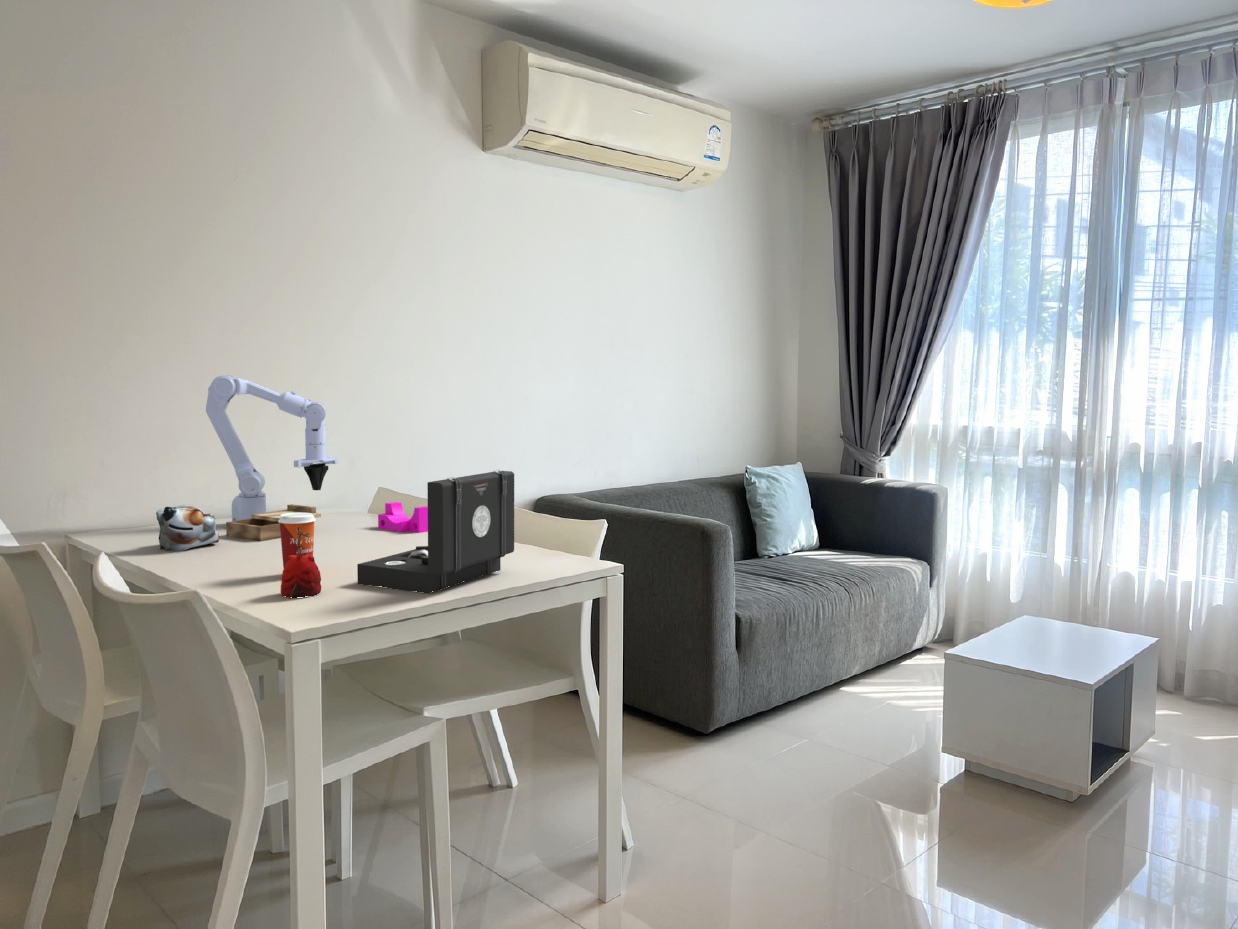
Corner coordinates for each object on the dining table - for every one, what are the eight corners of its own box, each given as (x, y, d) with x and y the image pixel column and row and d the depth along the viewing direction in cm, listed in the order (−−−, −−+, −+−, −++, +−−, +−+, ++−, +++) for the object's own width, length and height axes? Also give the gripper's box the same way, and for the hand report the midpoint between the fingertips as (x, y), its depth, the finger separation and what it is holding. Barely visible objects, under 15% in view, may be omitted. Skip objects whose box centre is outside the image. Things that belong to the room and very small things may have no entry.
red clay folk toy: (323, 594, 184) (322, 521, 182) (318, 603, 177) (316, 526, 175) (284, 595, 182) (282, 521, 181) (276, 604, 176) (275, 527, 174)
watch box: (414, 565, 215) (413, 461, 212) (516, 578, 202) (516, 468, 200) (336, 587, 191) (334, 471, 189) (445, 603, 179) (444, 479, 177)
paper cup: (295, 584, 192) (293, 518, 191) (271, 579, 196) (270, 515, 195) (325, 577, 199) (323, 513, 197) (301, 573, 203) (300, 510, 201)
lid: (251, 518, 252) (251, 508, 252) (287, 512, 262) (287, 503, 262) (285, 522, 245) (285, 513, 245) (321, 517, 255) (320, 507, 255)
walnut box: (226, 536, 246) (226, 522, 245) (264, 530, 256) (263, 516, 256) (260, 542, 239) (260, 527, 238) (298, 535, 249) (297, 521, 248)
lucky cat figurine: (229, 538, 237) (224, 491, 231) (211, 564, 226) (205, 516, 220) (170, 533, 236) (163, 486, 230) (149, 559, 226) (141, 510, 219)
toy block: (378, 530, 261) (377, 504, 260) (396, 527, 266) (395, 501, 265) (412, 536, 252) (411, 509, 251) (429, 533, 256) (429, 506, 256)
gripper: (305, 446, 259) (306, 493, 260) (344, 443, 271) (345, 488, 273) (288, 444, 263) (289, 491, 264) (327, 442, 275) (328, 486, 276)
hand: (316, 490), depth 268 cm, fingers closed
